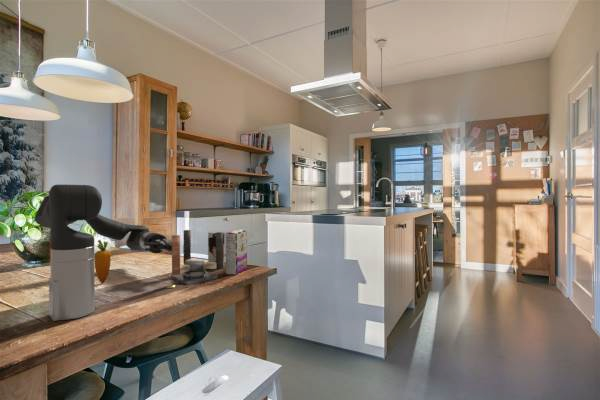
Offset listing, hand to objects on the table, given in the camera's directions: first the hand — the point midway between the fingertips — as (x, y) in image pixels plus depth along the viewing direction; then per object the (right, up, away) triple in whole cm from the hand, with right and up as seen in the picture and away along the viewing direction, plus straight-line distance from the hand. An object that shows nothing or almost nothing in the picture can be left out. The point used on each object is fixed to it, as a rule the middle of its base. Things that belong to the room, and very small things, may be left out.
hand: (172, 248), depth 113 cm
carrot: (-23, -12, -2) cm, 26 cm away
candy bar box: (+19, -12, +16) cm, 28 cm away
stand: (+4, -12, +3) cm, 13 cm away
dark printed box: (+9, -12, +23) cm, 28 cm away
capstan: (+7, -9, +5) cm, 12 cm away
